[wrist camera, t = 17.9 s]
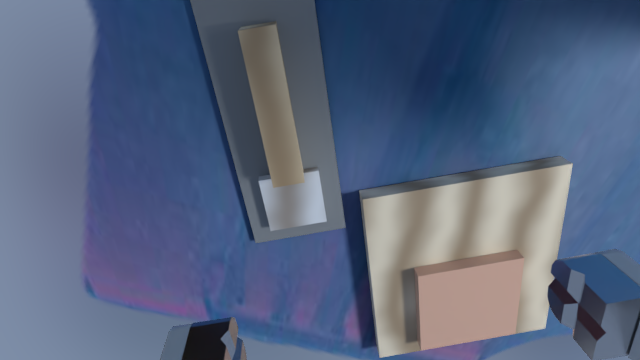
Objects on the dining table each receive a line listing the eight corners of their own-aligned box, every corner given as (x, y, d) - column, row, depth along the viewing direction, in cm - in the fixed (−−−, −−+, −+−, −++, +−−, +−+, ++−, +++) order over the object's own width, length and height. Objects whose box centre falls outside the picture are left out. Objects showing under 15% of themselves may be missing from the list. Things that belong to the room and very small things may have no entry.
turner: (293, 18, 33) (295, 21, 30) (325, 216, 42) (329, 232, 40) (223, 29, 33) (218, 33, 30) (270, 225, 42) (270, 242, 40)
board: (560, 155, 42) (572, 163, 40) (536, 316, 53) (545, 328, 51) (359, 190, 42) (362, 199, 40) (376, 345, 53) (379, 357, 51)
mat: (308, -41, 32) (308, -41, 31) (344, 224, 44) (345, 227, 43) (186, -21, 32) (184, -21, 31) (256, 239, 44) (255, 243, 43)
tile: (524, 257, 44) (515, 333, 49) (517, 249, 45) (508, 324, 50) (418, 276, 43) (420, 350, 49) (414, 267, 45) (417, 340, 50)
